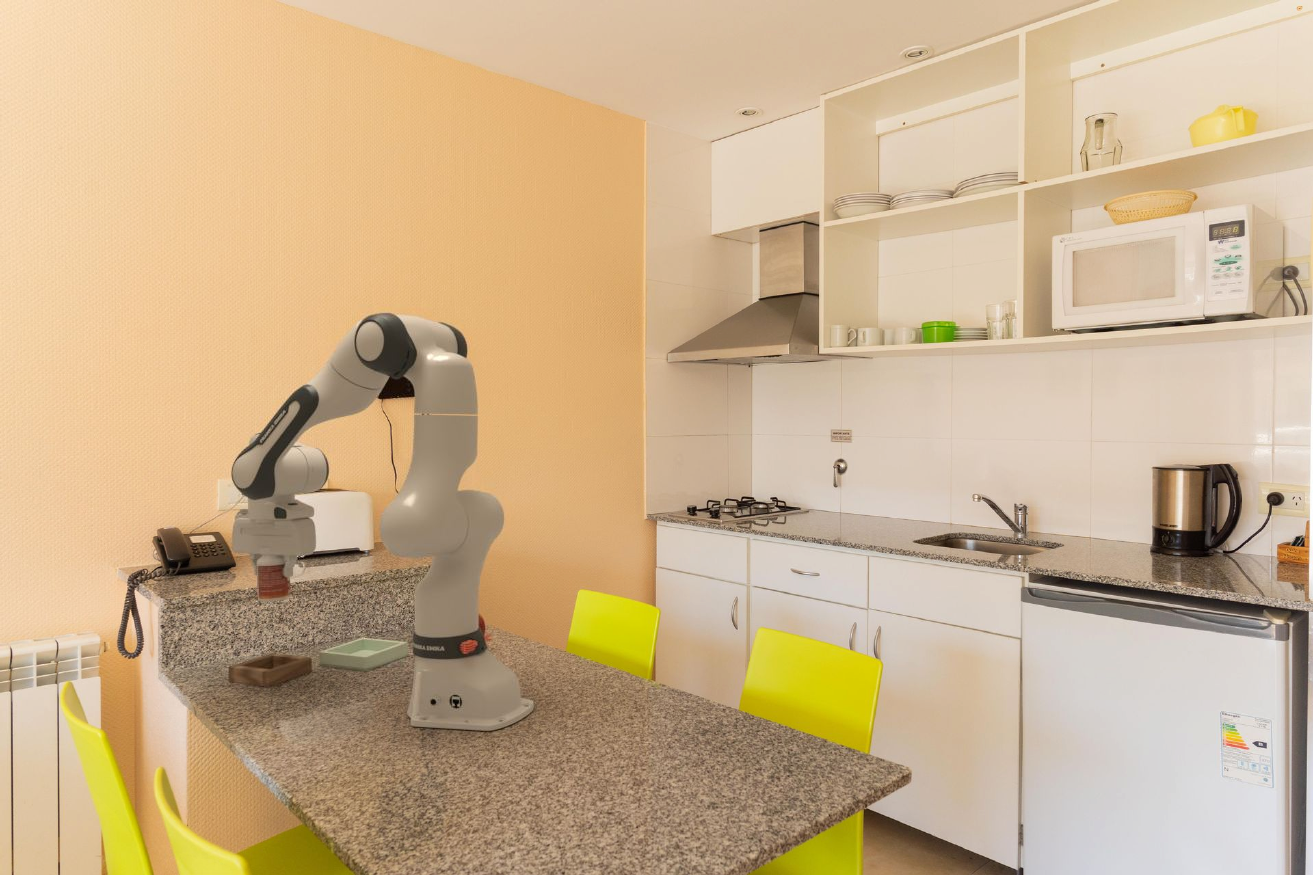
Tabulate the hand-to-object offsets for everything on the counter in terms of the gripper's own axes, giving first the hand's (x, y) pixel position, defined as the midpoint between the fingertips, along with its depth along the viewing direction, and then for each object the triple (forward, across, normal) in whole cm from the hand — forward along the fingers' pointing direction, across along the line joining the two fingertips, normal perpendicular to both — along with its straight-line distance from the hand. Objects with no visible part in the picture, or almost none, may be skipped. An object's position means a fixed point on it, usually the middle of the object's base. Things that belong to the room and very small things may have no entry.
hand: (273, 575), depth 168 cm
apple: (+21, +27, +27) cm, 44 cm away
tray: (+21, +9, +15) cm, 28 cm away
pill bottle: (+5, 0, 0) cm, 5 cm away
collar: (+21, -1, -1) cm, 21 cm away
